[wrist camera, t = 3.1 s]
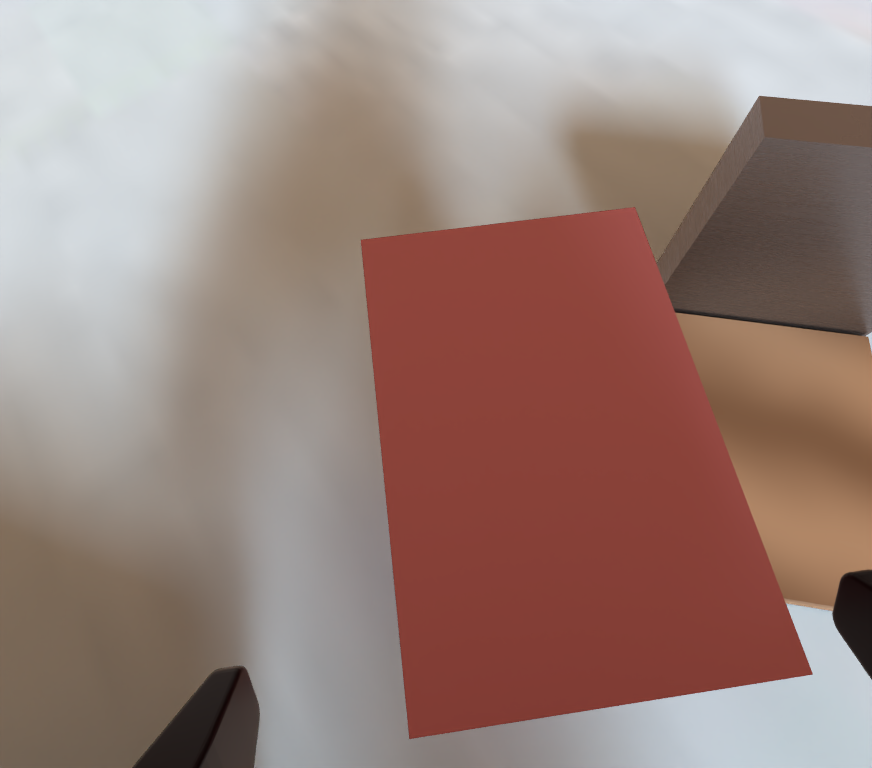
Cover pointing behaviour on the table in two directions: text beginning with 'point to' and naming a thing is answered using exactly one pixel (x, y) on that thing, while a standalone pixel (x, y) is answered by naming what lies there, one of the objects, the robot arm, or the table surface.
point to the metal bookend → (783, 223)
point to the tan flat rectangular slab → (795, 443)
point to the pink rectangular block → (557, 480)
